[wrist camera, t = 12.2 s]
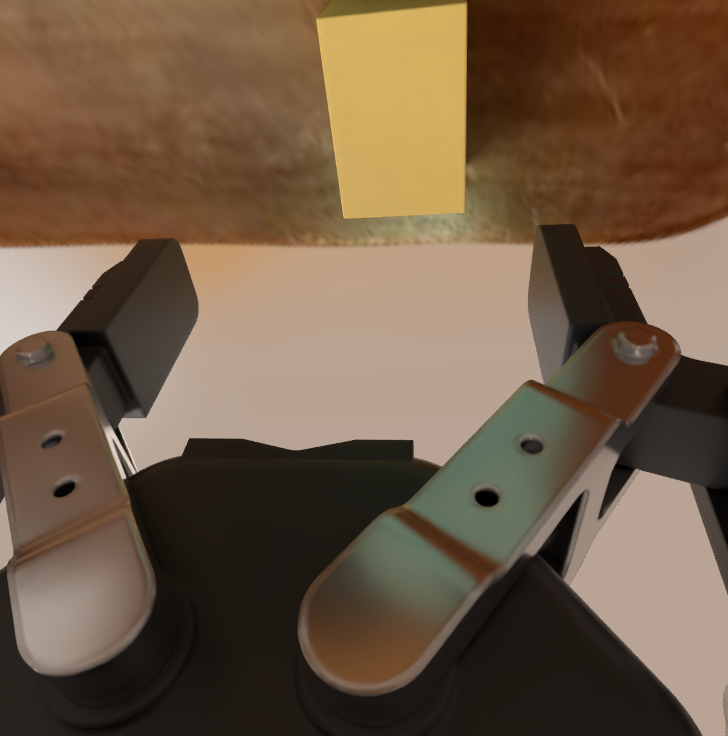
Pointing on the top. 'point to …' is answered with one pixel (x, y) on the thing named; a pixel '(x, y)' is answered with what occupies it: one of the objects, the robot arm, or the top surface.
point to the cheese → (397, 104)
